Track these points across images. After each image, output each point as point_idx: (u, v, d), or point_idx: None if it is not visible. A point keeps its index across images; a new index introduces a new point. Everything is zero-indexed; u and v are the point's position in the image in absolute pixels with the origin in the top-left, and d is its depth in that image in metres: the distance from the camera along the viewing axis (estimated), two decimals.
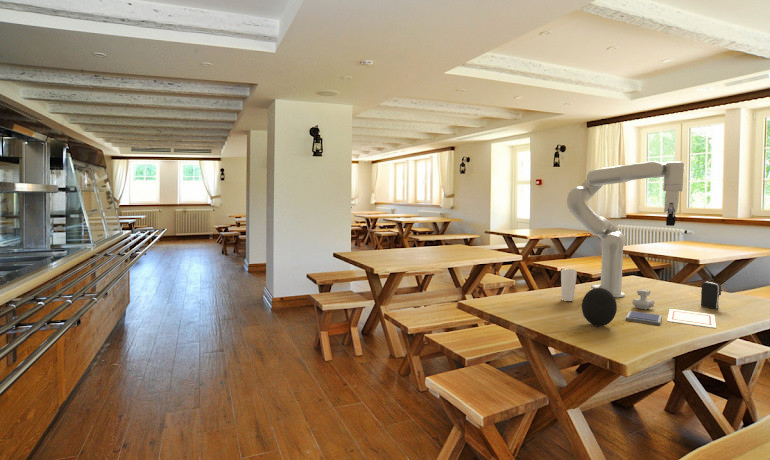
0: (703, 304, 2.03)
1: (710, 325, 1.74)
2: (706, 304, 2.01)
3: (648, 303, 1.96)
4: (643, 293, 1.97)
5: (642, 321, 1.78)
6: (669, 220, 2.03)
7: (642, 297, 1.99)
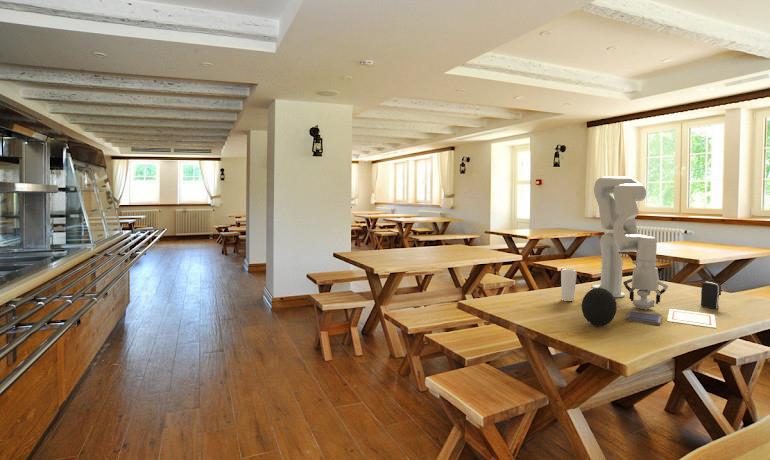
0: (703, 304, 2.03)
1: (710, 325, 1.74)
2: (706, 304, 2.01)
3: (649, 303, 1.95)
4: (643, 293, 1.97)
5: (642, 321, 1.78)
6: (659, 298, 1.94)
7: (642, 297, 1.98)
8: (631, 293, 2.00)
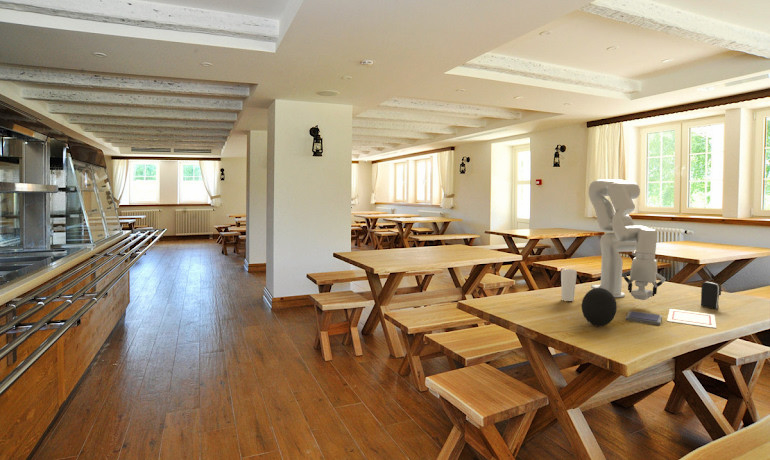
0: (703, 304, 2.03)
1: (710, 325, 1.74)
2: (706, 304, 2.01)
3: (647, 293, 1.97)
4: (641, 284, 1.99)
5: (642, 321, 1.78)
6: None
7: (640, 288, 2.00)
8: (629, 285, 2.01)
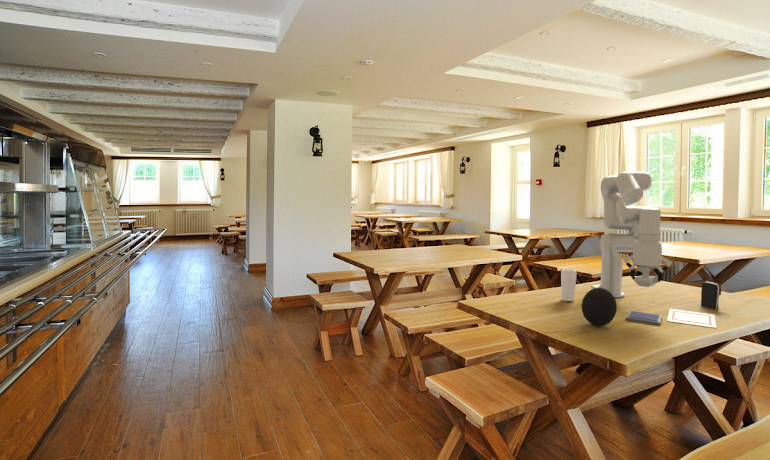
0: (703, 304, 2.03)
1: (710, 325, 1.74)
2: (706, 304, 2.01)
3: (652, 279, 1.79)
4: (645, 269, 1.80)
5: (642, 321, 1.78)
6: (662, 276, 1.78)
7: (644, 273, 1.82)
8: (632, 270, 1.83)
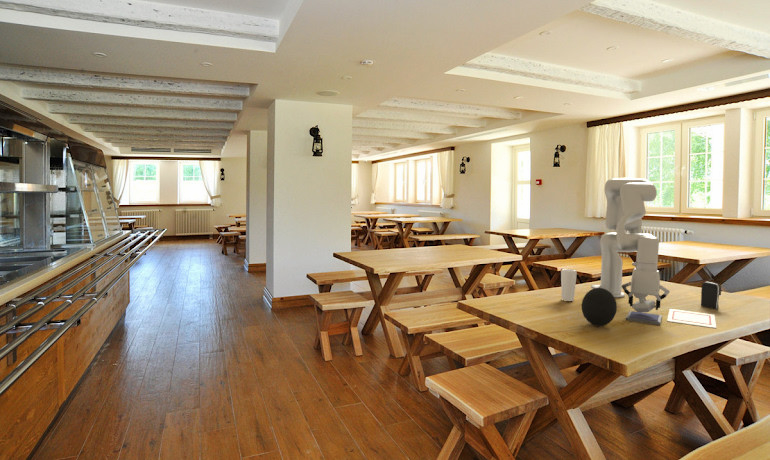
0: (703, 304, 2.03)
1: (710, 325, 1.74)
2: (706, 304, 2.01)
3: (649, 304, 1.80)
4: (641, 295, 1.82)
5: (642, 321, 1.78)
6: (659, 304, 1.79)
7: (641, 299, 1.83)
8: (630, 298, 1.84)
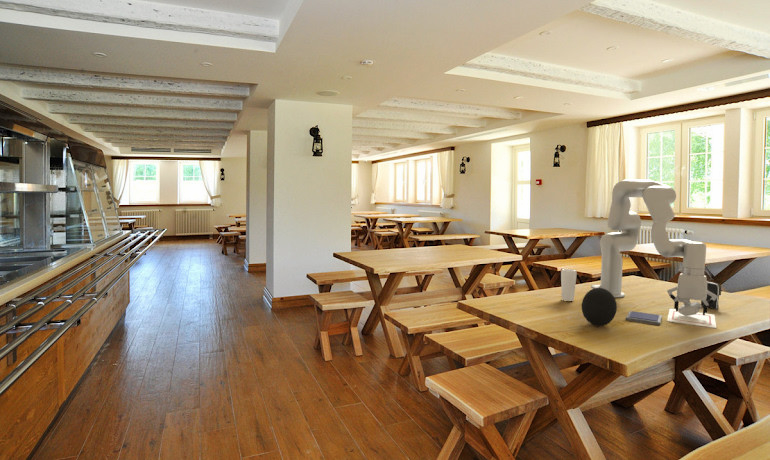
0: None
1: (710, 325, 1.74)
2: None
3: (695, 306, 1.82)
4: None
5: (642, 321, 1.78)
6: None
7: (686, 303, 1.85)
8: (676, 303, 1.86)
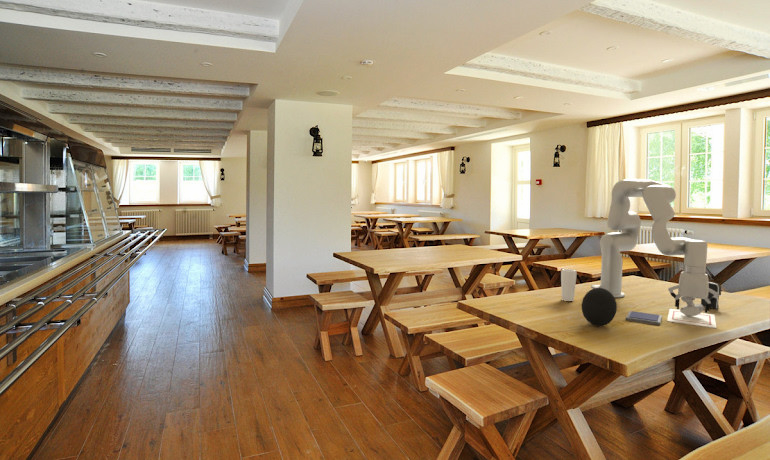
0: (703, 304, 2.03)
1: (710, 325, 1.74)
2: None
3: (698, 307, 1.82)
4: (688, 298, 1.84)
5: (642, 321, 1.78)
6: None
7: (689, 303, 1.85)
8: (677, 301, 1.85)
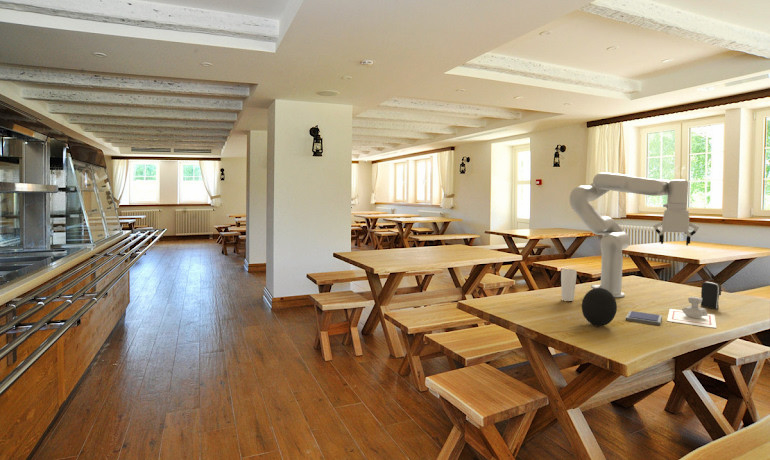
0: (703, 304, 2.03)
1: (710, 325, 1.74)
2: (706, 304, 2.01)
3: (701, 311, 1.81)
4: (695, 301, 1.82)
5: (642, 321, 1.78)
6: None
7: (694, 305, 1.84)
8: (661, 236, 2.04)
